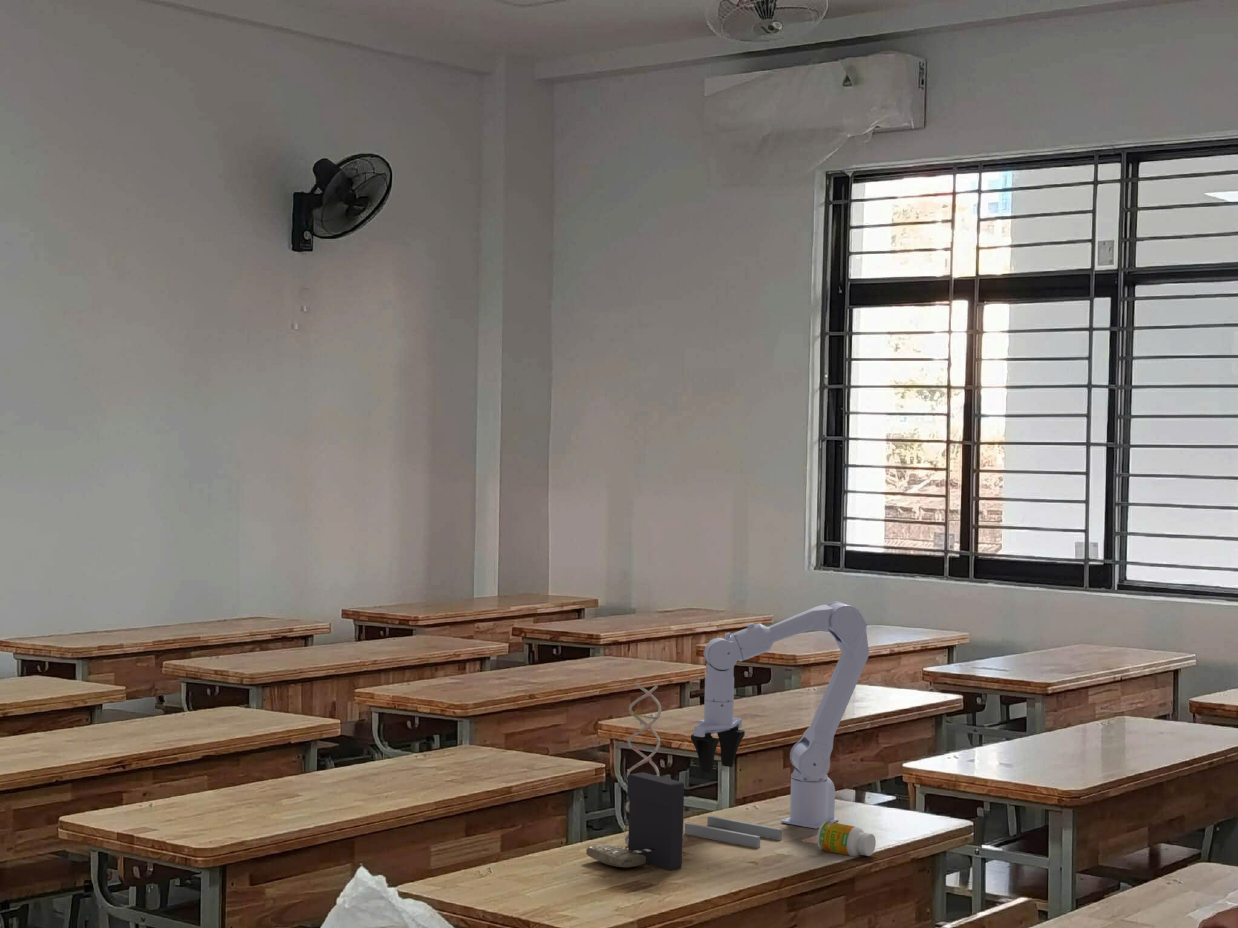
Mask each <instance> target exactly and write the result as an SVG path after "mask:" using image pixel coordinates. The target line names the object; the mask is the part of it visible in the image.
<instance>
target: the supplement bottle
mask: <svg viewBox="0 0 1238 928" xmlns="http://www.w3.org/2000/svg"><path fill="white" fill-rule="evenodd" d="M816 835H817V843H818V844H817V846H818V848H819V849H820V850H821V851H825V852H829V853H835V854H840V855H843V856H844V855H845V856H849V857H858V856H860V855H862V856H867V857H871V856H872V855H873V853H874V852H875V849H876V843H877V841H876V836H875V835H874V834H873V833H870V832H865V831H864V829H862V828H861V827H858V826H854V825H848V824H844V823H839V822H829V821H826V822H824V823H822V825H821V826H820V828H818V830H817V834H816Z"/></svg>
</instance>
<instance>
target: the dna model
mask: <svg viewBox="0 0 1238 928" xmlns="http://www.w3.org/2000/svg"><path fill="white" fill-rule="evenodd" d="M633 684H634V685H635V686H636V687H637V688H639V689H640V690H641V691H643V692H644V694H642V695H641V696H638V697H637V699H635V700H634V701H632V702H631V703H630V704H629V706H628V711H629V713H630V715H631V716H632V717H633V718H635V719H636V720H638V722H640V723H639V724H640V725H641V726H642V725H644V726H643V727H641V728H640V729H639V730H635V732H634V733H633V734H632V735H630V736H629V737H628V739H627V746H628V747H629V748H630V749H632V750H633V751H634V752H636V754H638V755H639V756H640V757H642V758H643V759H642V760H640V761H639V762H637V763H636V764H634V765H632V767H630V768H628V769H626V770H627V772H626V778H627V779H628V775H629V774H631V772H632V771H633V770H635V769H637V768H638V767H640V766H642V765H643V764H647V763H648V762H649V764H650V765H651V766H652V768H653V769H654V770H655V773H656V774H655V775H656V776H660V771H659V767H658V766H657V765H656V763H655V762H654V761H653V759H652V757H654V756H655V754H656V753H657V752H658V750H659V749H660V747H661V738H660V736H659V735H658V732H657V731H656V730H655V729H654V728H653V727H652V725H653V724H655V722H657V720H658V719H659V718H660V716H661V714H662V705H661V703H660V701H659V700H658V699H657V698H656V697H655V695H653V692H654V691H655V690H657V689H658V688H659V686H658V685H655V686H653V687H652V688H651V689H649V690H648V689H646V688H644V687H643V686H642V685H640V684H639V683H637V681H634V682H633ZM649 697H650V698H651V699H652V700H653V702H655V703H656V705H657V707H658V710H657V713H656V716H654V717H653V716H646V715H641V714H637V713H634V711H633V710H632V709H633V707H634V706H635V705H636V704H637V703H638V702H640V701H642V700H643V699H646V698H649ZM642 718H646V719H651V721H649V723H647V722H646V721H645V720H644V719H642ZM647 730H650V731H651V732H652V734H653V735H654V736H655V738H656V740H657V744H656V746H655V748H654V750H652V749H647V748H645V749H644V751H645V752H650V754H649V755H648V756H647V755H645V753H643V752H641V751H643V748H642V747H637V746H634V745H633V744H632V742H631V741H632V739H633V738H635V737H636V736H638V735H640V734H641V733H642V732H644V731H647ZM629 802H630V800H628V802H626V805H625V810H626V811H627V813H629ZM628 836H629V833H628V834H627V835H626V836H625V838H624V843H625V844H626V845H627V846H628Z"/></svg>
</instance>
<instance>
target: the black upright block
mask: <svg viewBox="0 0 1238 928" xmlns="http://www.w3.org/2000/svg"><path fill="white" fill-rule="evenodd" d="M656 775H657V774H651V773H647V772H643V771H641V772H636V773H630V774H629V775H628V778H627V789H626V790H627V793H626V795H627V798H628V799H629V800H628V802H629V801H630V802H629V812H628V834H629V836H628V845H627V850H630V851H636V850H643V849H650V848H653V849H656V850H655V851H647V852H640V853H638V854H640V855H644V856H645V857H646V862H645V864H647V865H649V866H653V867H656V868H660V869H663V870H666V871H668V872H669V871H673V870H679V869H681V868H682V866H683V865H682V864H683V855H684V854H683V852H684V838H683V837H684V828H685V822H684V821H685V808H684V807H685V806H684V805H685V803H684V802H685V800H684V799H685V784H684V782H683V781H679V780H676V779H671V778H667V777H662V776H660V775H659V776H656Z"/></svg>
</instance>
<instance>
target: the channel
mask: <svg viewBox="0 0 1238 928" xmlns="http://www.w3.org/2000/svg"><path fill="white" fill-rule="evenodd" d="M706 823H707V824H706V825H703V824H697V823H692V822H686V823H685V822H684V835H687V836H693V837H699V838H703V839H709V840H712V841H713V840H714V841H719V842H724V843H728V844H734V845H738V844H741V845H740V846H743V845H744V847H749V846H752V847H751V848H755V847H758V848H760V847H761V838H764V837H765V838H766V839H769V838H772V839H771V840H775V839H776V840H777V841H780V840H782V839H783V828H779V827H773V826H768V825H763V824H757V823H754V822H753V823H752V822H748V821H741V820H736V819H732V818H725V817H721V816H717V815H708V816H707V822H706ZM755 835H756V836H755Z"/></svg>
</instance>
